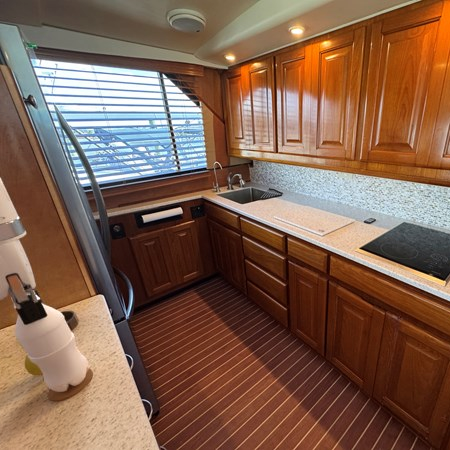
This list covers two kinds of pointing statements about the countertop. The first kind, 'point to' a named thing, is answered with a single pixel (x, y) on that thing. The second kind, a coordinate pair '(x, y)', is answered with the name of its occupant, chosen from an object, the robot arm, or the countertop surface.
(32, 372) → the lemon
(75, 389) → the cork coaster
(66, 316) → the ring
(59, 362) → the water bottle
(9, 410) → the countertop surface
